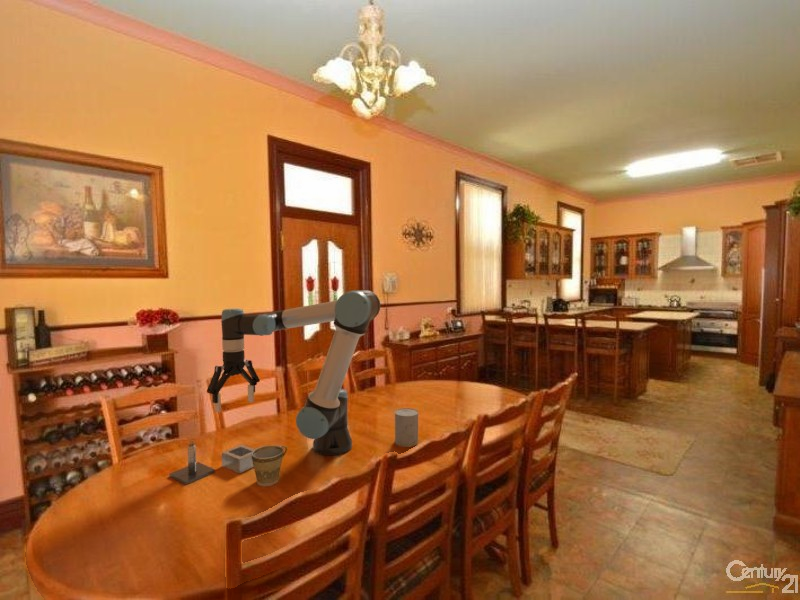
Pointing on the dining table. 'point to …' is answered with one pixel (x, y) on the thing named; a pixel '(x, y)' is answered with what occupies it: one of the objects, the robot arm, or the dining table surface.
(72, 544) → the dining table surface
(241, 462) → the grey block with hole
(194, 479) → the keeper
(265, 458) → the ceramic cup
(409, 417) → the gray cylinder
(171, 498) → the dining table surface
